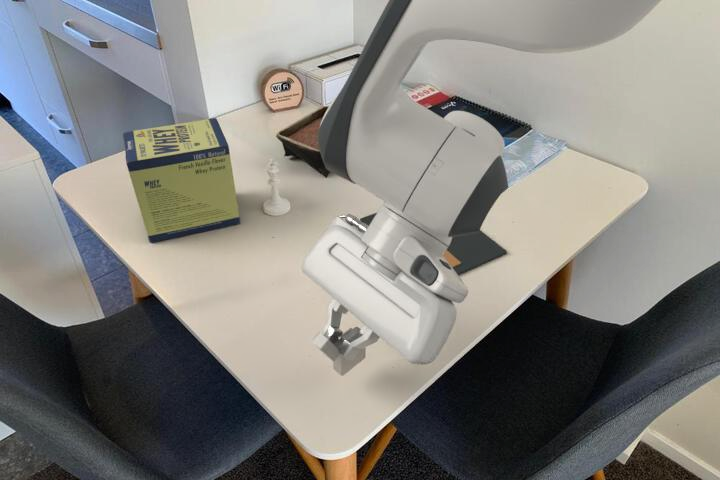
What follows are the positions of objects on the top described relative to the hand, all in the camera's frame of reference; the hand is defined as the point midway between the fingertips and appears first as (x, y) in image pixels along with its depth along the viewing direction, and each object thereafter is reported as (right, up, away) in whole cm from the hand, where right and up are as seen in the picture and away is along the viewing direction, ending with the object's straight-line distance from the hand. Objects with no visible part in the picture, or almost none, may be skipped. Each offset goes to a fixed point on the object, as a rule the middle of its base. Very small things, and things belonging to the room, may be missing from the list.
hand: (336, 348), depth 60 cm
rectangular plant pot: (-5, +30, +49) cm, 58 cm away
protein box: (-27, +16, +32) cm, 45 cm away
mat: (+15, +13, +29) cm, 35 cm away
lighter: (0, -3, +3) cm, 5 cm away
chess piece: (-12, +18, +35) cm, 41 cm away
